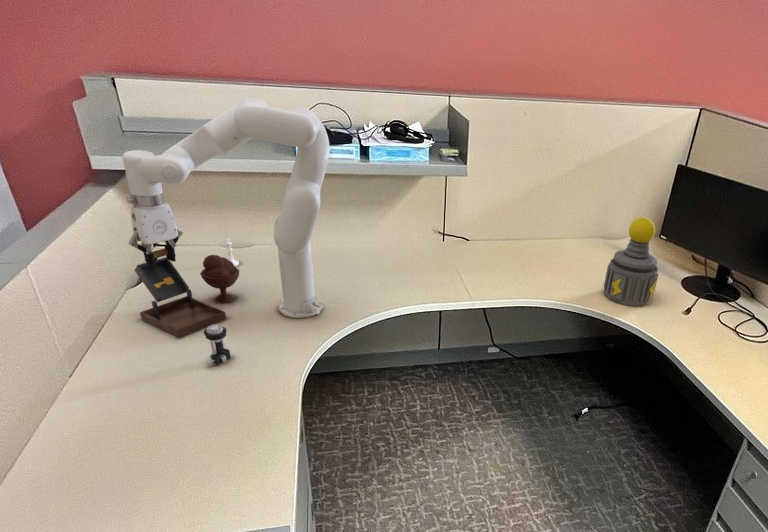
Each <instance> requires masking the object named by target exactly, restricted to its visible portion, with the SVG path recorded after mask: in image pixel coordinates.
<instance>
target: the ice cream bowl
mask: <svg viewBox="0 0 768 532" xmlns="http://www.w3.org/2000/svg"><path fill="white" fill-rule="evenodd" d="M228 259H229V258H227V257H223V256H220V255H218V254H210V255H207V256H205V257H204V260H203V261H202V266H203V269H202V270H201V272H199V274H200V276H201V278H202V279H203V281H204V282H205V283H206V284H207V285H209V287H212V288H214V289H218V290H219V292H220V294H218V295H217V296H216V297H214V298H215V299H214V301H215V302H216V303H221V304H226V303H227V304H228V303H231V302H233V301H234V299H235V296H233V295H232V294H230V293H228V292H227V289H228V288H230V287H233V285H234V284H235V283H236V282H237V280H238V279H239V276H240V269H238V267H237V266H234V264H233V263H232V262H231V261H229V260H228Z"/></svg>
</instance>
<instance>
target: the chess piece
mask: <svg viewBox="0 0 768 532" xmlns="http://www.w3.org/2000/svg"><path fill="white" fill-rule="evenodd" d="M224 240H225V243H224V244H225V245H226V247H227V248H226V251H227V253H228V255H227V256H228V258H227V259H228V260H229V261H231V262H232V263H233V264H234V267H237V266H239V265H240V261H239V260H238V259H235V258H234V255H233V253H232V251H233V250H234V249H233V248H232V242H231V241H232V239H231V238H230V237H228V236H227V237H226V238H225V239H224Z"/></svg>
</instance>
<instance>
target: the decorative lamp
mask: <svg viewBox="0 0 768 532" xmlns="http://www.w3.org/2000/svg"><path fill="white" fill-rule="evenodd" d="M655 234H656V226H655V224H654V222H653V221H652V220H651V219H650V218H648V217H644V216H643V217H638V218H636V219H634V220H633V221H632V222H631V224H630V225H629V229H628V235H629V237H630V239H629V242H628V244H627V245H626V248H625V249H622V250H618V251H615V253H614V255H613V258H612V259H610V262H609V263H608V265H607V269H606V273H605V279H604V283H603V290H604V291H603V293H604V295H605V296H606V297H607V298H608V299H609V300H610V301H613V302H615V303H617V304H621V305H625V306H629V307H630V306H633V307H639V306H644V305H647V304H649V303H650V302H651V300H652V299H653V297H654V294H655V292H656V286H657V282H658V278H659V273H658V271H659V268H658V266H657V265H658V259H657V258H656V257H655V256H653V255H651V254H650V252H649V251H650V247H649V245H650V241H652V240H653V238H654V237H655Z"/></svg>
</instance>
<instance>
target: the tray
mask: <svg viewBox="0 0 768 532" xmlns="http://www.w3.org/2000/svg"><path fill="white" fill-rule="evenodd" d="M151 305H152V308H148V309H146V310H143V311H140V312H139V315H140V318H141V321H143V322H145V323H147V324H150V325H151V326H154V327H156V328H158V329H160V330H162V331H164V332H166V333H168V334H170V335H172V336H174V337H177V338H178V339H182V338H184V337H187V336H188V335H191V334H193V333H196V332H198V331H201V330H203V329H207V327H208V326H210V325H214V324H218V323H220V322H223V321H226V320H227V315H226V311H224V310H222V309H219V308H217V307H215V306H213V305H211V304H208V303H206V302H203V301H201V300H199V299H197V298H194V297H193V293H192V290H191V289H190V288H189V289H188V290H187V292H186V296H184V297H180V298H177V299H174V300H171V301H168V302H165V303H163V304H160V305H158V302H157V301H156V300H151Z"/></svg>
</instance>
